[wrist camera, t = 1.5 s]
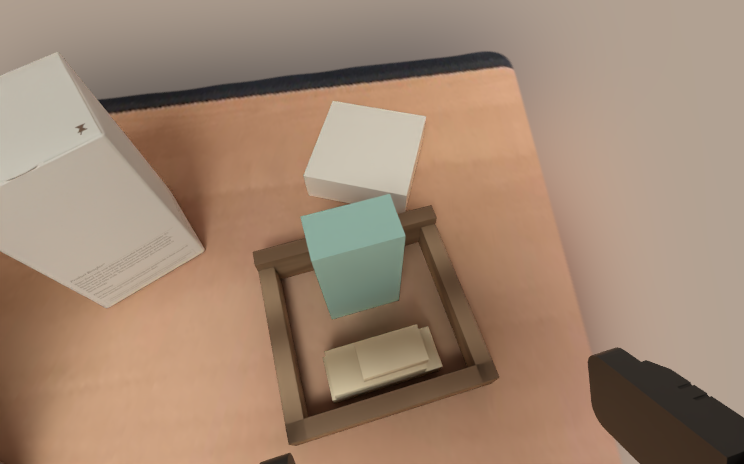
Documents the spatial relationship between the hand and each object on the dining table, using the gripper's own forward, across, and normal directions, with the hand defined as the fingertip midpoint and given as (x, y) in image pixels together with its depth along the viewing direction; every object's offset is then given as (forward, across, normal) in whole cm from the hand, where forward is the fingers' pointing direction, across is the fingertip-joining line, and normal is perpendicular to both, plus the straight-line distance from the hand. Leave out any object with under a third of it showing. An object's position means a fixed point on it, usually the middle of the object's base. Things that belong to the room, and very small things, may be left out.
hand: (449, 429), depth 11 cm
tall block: (+23, 0, +6) cm, 23 cm away
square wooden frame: (+21, 0, +8) cm, 22 cm away
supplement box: (+30, +18, -1) cm, 35 cm away
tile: (+31, -4, -3) cm, 31 cm away
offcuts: (+18, 0, +10) cm, 21 cm away
